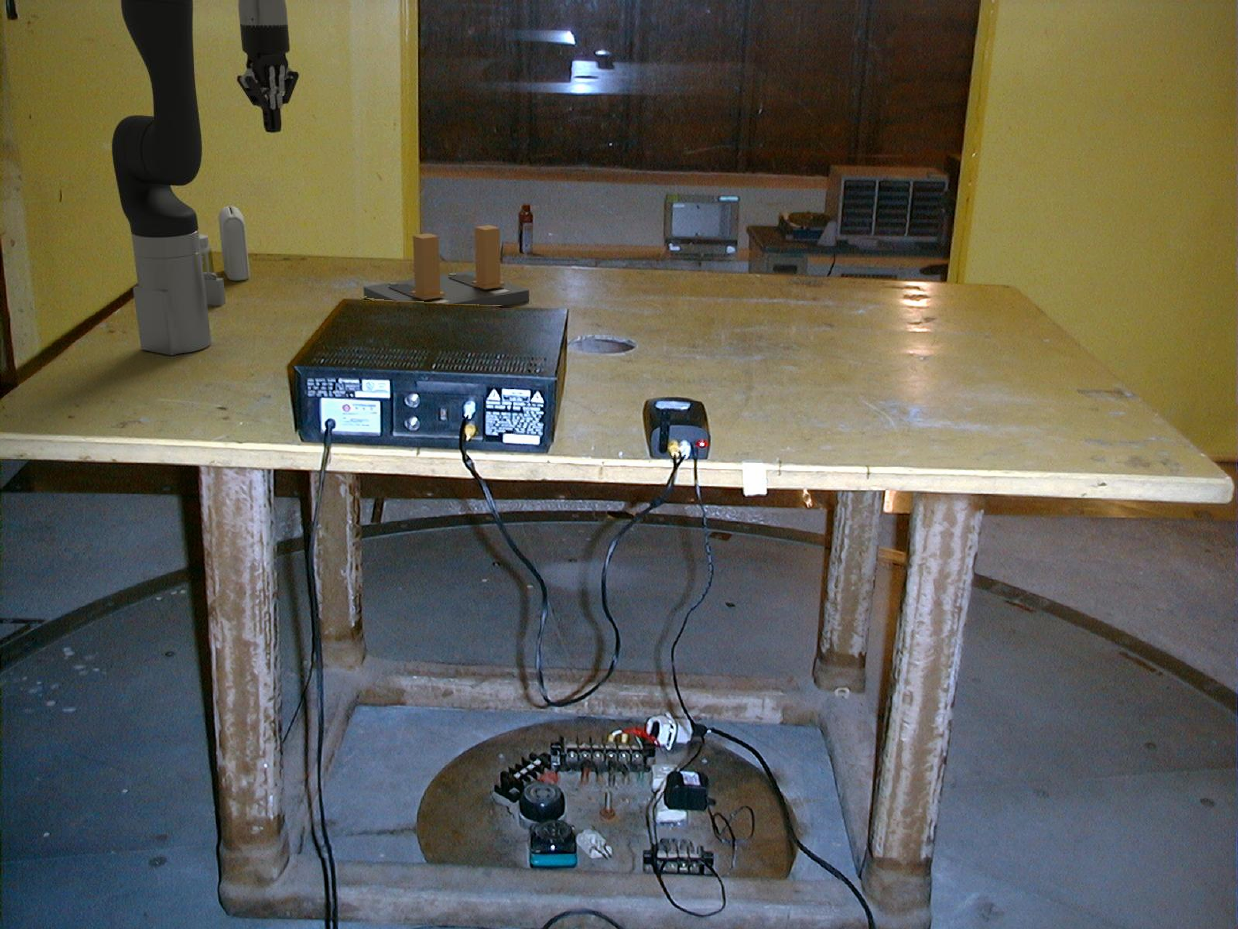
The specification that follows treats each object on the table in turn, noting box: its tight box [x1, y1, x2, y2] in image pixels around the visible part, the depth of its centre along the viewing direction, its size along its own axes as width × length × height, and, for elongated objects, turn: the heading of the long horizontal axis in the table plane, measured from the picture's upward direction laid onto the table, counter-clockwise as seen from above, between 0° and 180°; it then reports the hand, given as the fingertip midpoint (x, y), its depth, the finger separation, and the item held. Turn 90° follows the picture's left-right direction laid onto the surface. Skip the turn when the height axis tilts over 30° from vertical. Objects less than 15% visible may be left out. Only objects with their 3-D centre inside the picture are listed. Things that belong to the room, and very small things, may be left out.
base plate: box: [362, 269, 530, 306], centre depth 209 cm, size 22×18×2 cm
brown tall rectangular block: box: [472, 224, 505, 289], centre depth 208 cm, size 4×4×10 cm
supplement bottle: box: [199, 233, 215, 273], centre depth 216 cm, size 5×5×8 cm
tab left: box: [411, 232, 445, 300], centre depth 201 cm, size 4×4×10 cm
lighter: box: [203, 272, 226, 307], centre depth 203 cm, size 7×2×8 cm, turn 83°
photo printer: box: [218, 205, 251, 281], centre depth 221 cm, size 10×4×12 cm, turn 21°
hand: (273, 131), depth 204 cm, fingers closed
